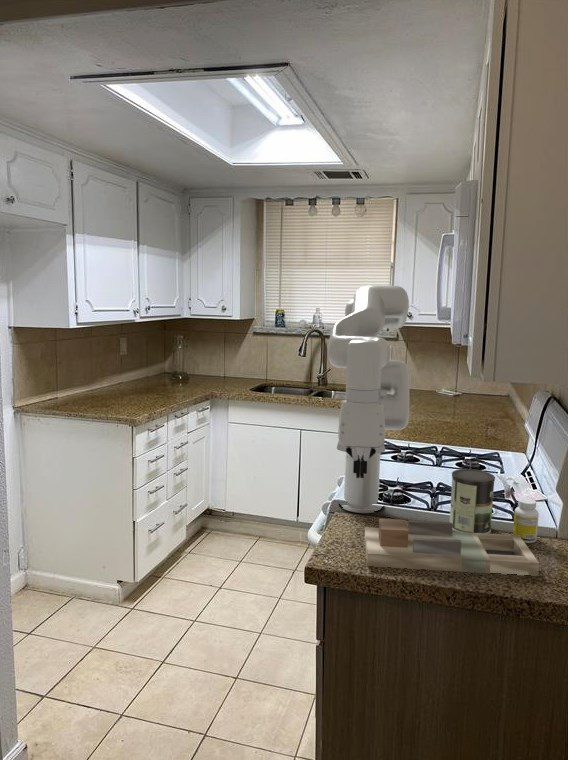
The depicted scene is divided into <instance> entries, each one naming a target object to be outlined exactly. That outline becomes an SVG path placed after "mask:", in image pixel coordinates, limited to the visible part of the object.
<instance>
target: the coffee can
mask: <svg viewBox="0 0 568 760" xmlns="http://www.w3.org/2000/svg"><path fill="white" fill-rule="evenodd" d="M495 481H496V476H495V475H494V474H493V473H490V472H487V471H484V470H481V469H474V468H472V469H471V468H463V469H462V468H461V469H460V468H459V469H456V470H453V471H452V473H451V493H450V494H451V495H450V509H449V522H452V524H453V527H452V532H467V533H486V534H491V532H492V517H493V516H492V515H493V514H492V513H493V503H494V502H493V501H494V489H495V487H494V486H495Z"/></svg>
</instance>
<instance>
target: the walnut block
mask: <svg viewBox="0 0 568 760" xmlns="http://www.w3.org/2000/svg"><path fill="white" fill-rule="evenodd" d="M378 519H379V520H378V528H379V541H380V546H388V547H406V548H408V531H409V530H408V523H407V521H406V519H399V518H398V519H392V518H378Z"/></svg>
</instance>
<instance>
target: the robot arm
mask: <svg viewBox="0 0 568 760" xmlns="http://www.w3.org/2000/svg"><path fill="white" fill-rule="evenodd" d="M409 305H410V301H409V296H408V293H407V291H406V290H405V288H404V287H402V286H400V285H399V286H398V285H365V286H362V287H360V288H358V289H357V290H356V292H355V293H354V296H353V299H351V300H349V301H348V302H347V303H346V306H345V309H344V317H343V318H342V319H340V320H338V321H337V322H336V323H335V324H334V325H333V327H332V328H331V329H332V330H330V331H331V332H330V336H329V340H328V346H327V358H328V361H329V363H330V365H331V366H332V367H334V368H337V369H346V373H345V374H346V375H345V377H346V379H345V399H344V400H342V401H341V405H340V408H339V409H340V411H339V419H338V432H337V433H338V434H337V438H338V441H337V443H336V444H337V445H336V449H337V450H338V451H340V452H343V453H345V455H344V456H345V460H344V487H343V489H344V491H343V492H344V493H343V495H344V499H345V500H346V501H347V502H348V503H349V505H342V507H343V508H342V509H343V510H345V511H348V512H352V513H359V514H371V513H375V512H374V511H375V509H376V508H370V507H369V506H370V505H372V504H375V503H377V502H378V498H380V497H379V494H380V492H379V491H380V472H381V454H382V453H385V452H386V447H385V438H386V437H385V436H386V435H385V433H386V431H388V430H389V431H402V430H404V429H405V428H407V426H408V424H409V421H410V371H409V367H408V365H407V363H405V361H402V360H399V359H391V350H392V349H391V345H390V344H389V343H388V341H387V340H386V339H385V338H383V337H380V336H377V335H379V334H380V333H381V332H382V331H383V329H400V328H402V327H404V326H405V324H406V322H407V319H408V313H409V308H410V306H409Z"/></svg>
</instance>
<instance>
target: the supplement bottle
mask: <svg viewBox="0 0 568 760" xmlns="http://www.w3.org/2000/svg"><path fill="white" fill-rule="evenodd" d="M517 505H518V506H517V507H516V508H515V509H514V514H513V515H514V517H513V530H512V531H513V532H512V535H519V536H520V537H521V539H522V540H523V541H524V543H525V544H532V543H535V542H537V538H538V530H539V529H538V527H539V514H540V513H539V511H538V510H537V501H536V500H535V499H532V498H528V497H520V498H518V503H517Z"/></svg>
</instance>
